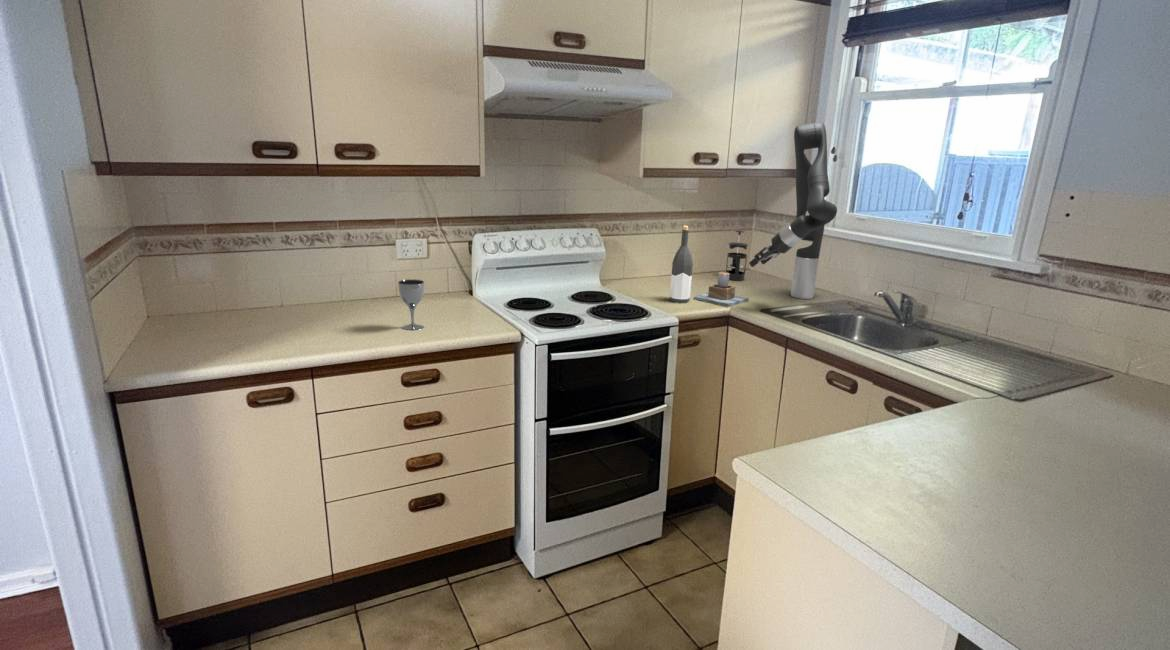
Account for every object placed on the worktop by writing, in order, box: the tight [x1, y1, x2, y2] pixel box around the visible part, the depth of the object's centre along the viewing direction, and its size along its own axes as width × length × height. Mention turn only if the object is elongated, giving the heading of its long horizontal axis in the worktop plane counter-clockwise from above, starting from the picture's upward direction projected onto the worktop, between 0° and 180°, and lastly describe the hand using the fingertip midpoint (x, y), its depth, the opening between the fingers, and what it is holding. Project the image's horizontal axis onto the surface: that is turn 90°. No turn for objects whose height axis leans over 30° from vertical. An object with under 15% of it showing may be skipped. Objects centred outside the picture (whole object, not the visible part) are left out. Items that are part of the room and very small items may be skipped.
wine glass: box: [397, 278, 425, 331], centre depth 202 cm, size 8×8×15 cm
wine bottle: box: [669, 225, 694, 304], centre depth 249 cm, size 8×8×30 cm
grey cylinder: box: [716, 271, 730, 289], centre depth 256 cm, size 4×4×10 cm
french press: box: [725, 230, 749, 282], centre depth 297 cm, size 12×9×23 cm
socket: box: [693, 283, 749, 308], centre depth 257 cm, size 16×16×6 cm
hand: (756, 263), depth 245 cm, fingers open, 8 cm apart
